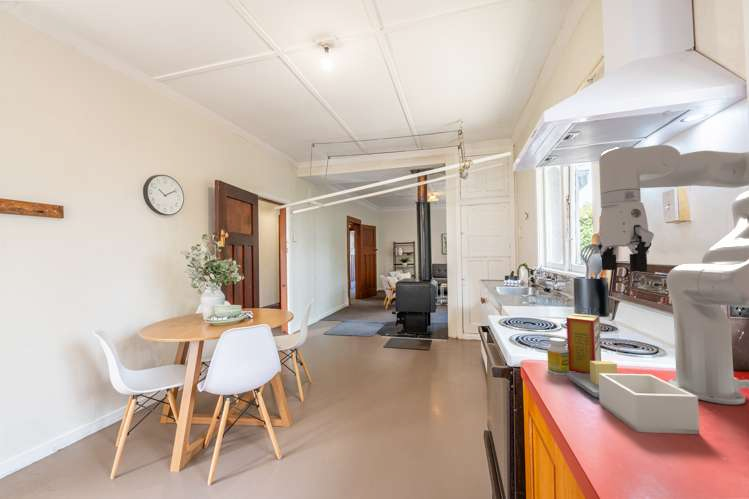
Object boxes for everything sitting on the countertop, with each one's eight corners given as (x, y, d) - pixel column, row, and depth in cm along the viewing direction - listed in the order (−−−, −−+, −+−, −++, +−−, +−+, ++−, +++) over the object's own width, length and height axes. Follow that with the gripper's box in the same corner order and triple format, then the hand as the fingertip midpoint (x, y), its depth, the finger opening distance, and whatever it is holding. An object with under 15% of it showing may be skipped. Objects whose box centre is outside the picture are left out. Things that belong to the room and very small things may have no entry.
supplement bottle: (553, 367, 92) (552, 335, 92) (572, 373, 87) (571, 339, 88) (544, 371, 89) (543, 338, 89) (563, 377, 84) (562, 342, 85)
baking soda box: (595, 376, 84) (593, 319, 85) (568, 370, 89) (566, 316, 90) (601, 367, 91) (599, 314, 92) (576, 362, 96) (574, 312, 96)
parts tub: (651, 405, 68) (650, 374, 68) (699, 434, 57) (697, 396, 57) (599, 404, 69) (598, 373, 69) (636, 431, 58) (635, 394, 58)
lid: (612, 381, 81) (611, 355, 81) (647, 402, 69) (646, 371, 70) (567, 380, 82) (566, 354, 82) (594, 400, 70) (593, 370, 71)
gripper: (668, 191, 64) (671, 272, 63) (612, 205, 81) (614, 269, 81) (629, 193, 65) (633, 272, 64) (582, 206, 82) (585, 269, 81)
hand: (623, 270), depth 72 cm, fingers open, 9 cm apart
